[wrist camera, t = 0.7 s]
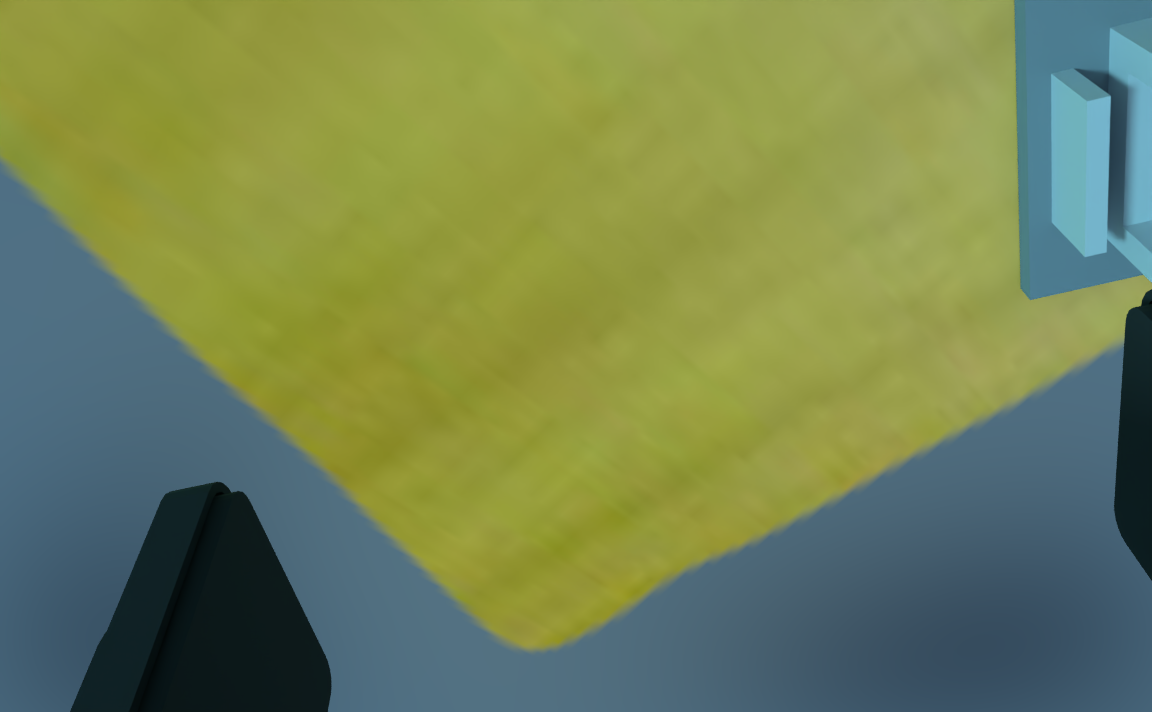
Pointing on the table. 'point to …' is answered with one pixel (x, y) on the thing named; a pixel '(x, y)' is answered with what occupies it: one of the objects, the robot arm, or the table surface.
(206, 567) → the robot arm
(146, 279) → the table surface
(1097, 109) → the board
